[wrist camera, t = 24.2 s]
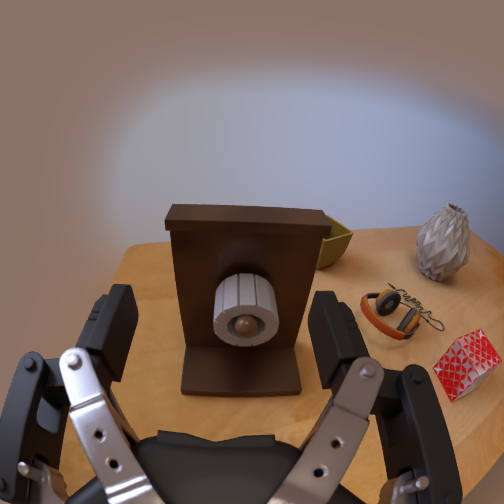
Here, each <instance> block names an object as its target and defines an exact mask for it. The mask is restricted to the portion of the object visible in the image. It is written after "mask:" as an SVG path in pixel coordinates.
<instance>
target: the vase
mask: <svg viewBox="0 0 504 504" xmlns="http://www.w3.org/2000/svg"><path fill="white" fill-rule="evenodd" d="M467 216H468V214H467V213H466V212H465V211H464V210H462V208H459V207H458V206H454V205H453V204H449V203H448V204H446V205H445V207H443V208H442V209H441V210H440V211H438V212H437V213H436V214H435V215H434V216H433V217H432V218H431V219H430V220H429V221H428V222H427V223H425V224H424V225H423V226H422V227H421V228H420V229H419V230H418V231H417V257H418V259H419V268H420V269H421V272H422V273H424V274H425V275H426V276H427V277H429V278H431V279H432V280H438V281H439V282H440V281H441V280H445V278H446V277H450V276H452V275H453V274H455V273H456V272H457V271H458V270H459V269H460V268H461V267H463V266H464V265H466V264H467V263H468V260H469V252H470V248H469V234H470V231H469V227H468V219H467Z"/></svg>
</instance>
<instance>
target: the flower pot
mask: <svg viewBox="0 0 504 504" xmlns="http://www.w3.org/2000/svg"><path fill="white" fill-rule="evenodd" d="M326 217H327V219H328V220H329V222H330V223H331V225H332V228H331V232H330V236H323V241H322V245H321V249H320V253H319V258H318V262H317V266H316V269H320V268H323V267H325V266H328V265H331V264H333V263H334V262H336V261H337V260H338V259H339V258H340V257H341V256H342V255H343V253H344V252H345V250H346V248H347V246H348V244H349V242H350V240H351V237H352V235H353V232H352V231H350V230H349V229H348V228H346V227H345V226H343V225H342V224H340V223H339V222H337V221H335V220H334V219H333V218H331V217H329V216H328V215H326Z"/></svg>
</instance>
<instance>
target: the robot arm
mask: <svg viewBox="0 0 504 504" xmlns="http://www.w3.org/2000/svg"><path fill="white" fill-rule="evenodd" d="M137 323H138V308H137V305H136V301H135V298H134V294H133V290H132V287H131V285H126V284H113V286H112V287H111V290H110V292H109V294H108V295H102V296H101V297H100V298H99V299H98V300H97V301H96V302H95V304H94V307H93V309H92V311H91V313H90V315H89V317H88V320H87V321H86V324H85V326H84V328H83V330H82V332H81V335H80V337H79V340H78V342H77V344H76V346H75V348H71V349H68V350H67V351H65V352H64V353H63V355H62V356H61V358H57V359H47V360H44V359H43V358H42V356H41V355H40V354H39V353H37V352H29V353H27V354H25V355H24V356H23V357H22V358H21V360H20V362H19V364H18V367H17V369H16V372H15V374H14V377H13V380H12V383H11V385H10V388H9V391H8V394H7V398H6V401H5V404H4V407H3V411H2V414H1V418H0V499H1V500H3V501H5V502H8V503H11V504H366V503H365V502H363V501H362V500H361V499H359V498H358V497H357V496H355V495H354V494H353V493H351V492H350V491H349V490H348V489H346V488H345V487H344V486H342V485H341V484H340V481H341V480H342V478H343V476H344V474H345V472H346V471H347V469H348V467H349V465H350V463H351V461H352V459H353V458H354V456H355V454H356V452H357V450H358V448H359V446H360V444H361V441H362V439H363V437H364V435H365V433H366V431H367V428H368V426H369V420H368V416H369V414H373V415H375V416H376V421H377V425H378V430H379V435H380V440H381V445H382V450H383V455H384V461H385V466H386V472H387V478H388V481H387V482H386V483H385V484H384V485H383V486H382V488H381V491H380V495H379V497H380V499H379V503H378V504H460V503H461V501H462V497H463V493H462V487H461V481H460V476H459V471H458V467H457V463H456V458H455V454H454V450H453V446H452V443H451V439H450V436H449V432H448V429H447V425H446V422H445V419H444V416H443V413H442V410H441V407H440V404H439V401H438V398H437V395H436V392H435V390H434V387H433V384H432V382H431V379H430V376H429V374H428V372H427V371H426V370H425V369H424V368H423V367H421V366H419V365H416V364H411V365H408V366H407V367H405V369H404V370H403V371H397V370H390V369H385V368H383V367H382V366H381V364H380V363H379V362H378V361H376V360H375V359H373V358H371V357H370V355H369V353H368V350H367V348H366V345H365V342H364V340H363V337H362V335H361V332H360V330H359V329H358V325H357V322H356V321H355V317H354V315H353V313H352V310H351V309H350V308H349V307H348V306H347V305H346V304H345V303H344V302H338V300H337V298H336V295H335V293H334V291H316V292H315V294H314V298H313V301H312V305H311V308H310V312H309V315H308V329H309V333H310V337H311V341H312V345H313V349H314V354H315V358H316V362H317V366H318V371H319V375H320V379H321V384H322V388H323V389H331V390H332V394H333V395H332V396H331V398H330V399H329V401H328V403H327V405H326V407H325V408H324V410H323V412H322V413H321V415H320V417H319V418H318V420H317V422H316V423H315V425H314V427H313V428H312V430H311V431H310V433H309V434H308V435H307V437H306V438H305V440H304V441H303V443H302V444H301V446H300V447H299V449H298V448H296V447H294V446H292V445H290V444H288V443H285V442H281V441H276V440H275V435H251V436H242V437H237V438H233V439H228V440H224V441H218V442H214V441H210V440H206V439H203V438H199V437H196V436H193V435H190V434H187V433H178V432H169V431H162V430H158V434H157V436H153V437H149V438H145V439H143V440H139V438H138V436H137V435H136V433H135V432H134V430H133V429H132V428H131V426H130V425H129V423H128V421H127V420H126V418H125V416H124V414H123V412H122V410H121V408H120V406H119V404H118V402H117V400H116V398H115V396H114V394H113V392H112V390H111V388H110V387H111V383H112V381H115V382H121V378H122V375H123V371H124V367H125V363H126V360H127V356H128V353H129V349H130V346H131V342H132V339H133V336H134V333H135V329H136V326H137ZM41 397H42V398H41ZM40 400H41V401H40ZM39 404H40V405H39ZM70 405H71V407H72V409H70V410H69V408H70ZM37 411H38V412H37ZM68 412H69V414H70V418H71V420H72V423H73V426H74V428H75V431H76V433H77V436H78V438H79V440H80V443H81V445H82V447H83V449H84V452H85V454H86V456H87V458H88V460H89V462H90V464H91V466H92V468H93V470H94V472H95V474H96V476H95V477H94V478H93V479H92V480H90V481H89V482H88V483H87V484H85V485H84V486H83V487H82V488H80V489H79V490H78V491H77V492H75V493H74V494H73V495H71V496H70V497H69V496H68V495H67V493H66V489H67V485H66V483H65V481H64V478H63V476H62V474H61V473H60V472H59V464H60V456H61V450H62V443H63V438H64V432H65V427H66V422H67V417H68Z"/></svg>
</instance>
